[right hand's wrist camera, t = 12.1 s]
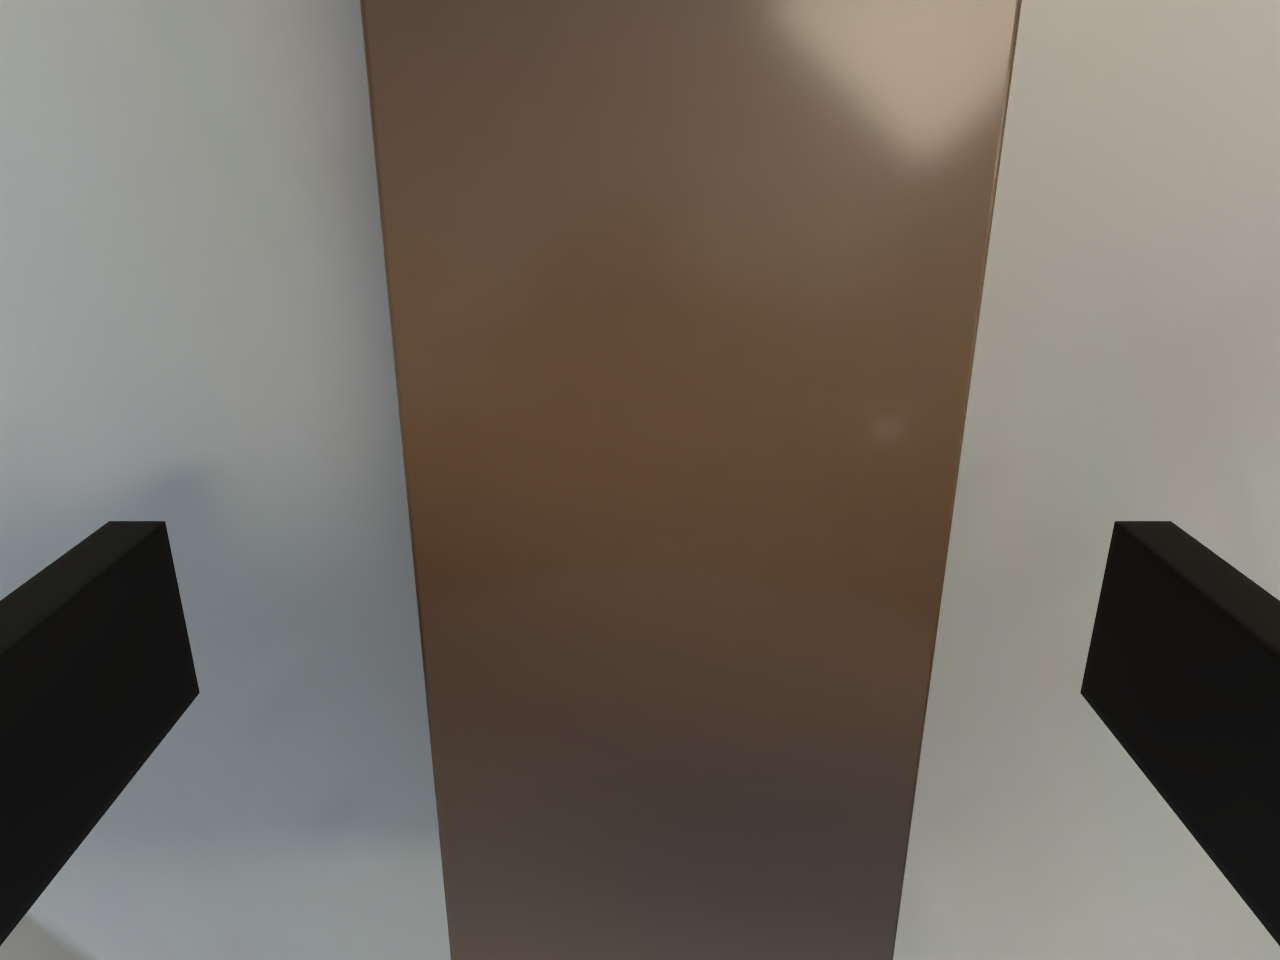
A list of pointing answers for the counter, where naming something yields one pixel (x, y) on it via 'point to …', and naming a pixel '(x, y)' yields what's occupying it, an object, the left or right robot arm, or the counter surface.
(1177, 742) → the right robot arm
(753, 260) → the post
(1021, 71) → the counter surface
